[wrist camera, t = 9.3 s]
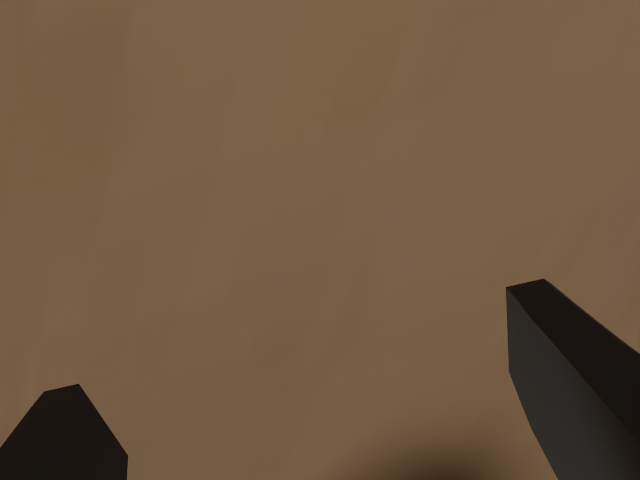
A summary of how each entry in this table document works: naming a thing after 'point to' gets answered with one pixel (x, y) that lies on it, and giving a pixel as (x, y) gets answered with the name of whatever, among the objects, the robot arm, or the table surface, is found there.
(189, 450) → the table surface
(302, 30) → the table surface
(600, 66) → the table surface
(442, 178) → the table surface
